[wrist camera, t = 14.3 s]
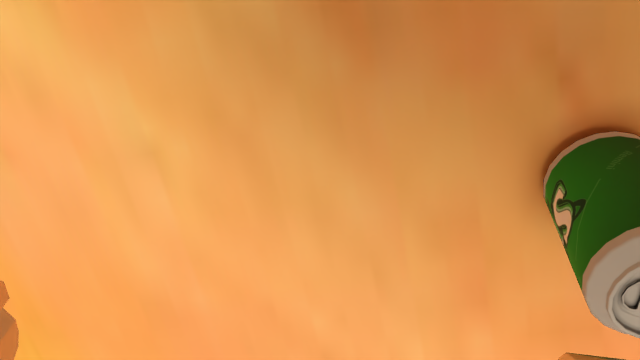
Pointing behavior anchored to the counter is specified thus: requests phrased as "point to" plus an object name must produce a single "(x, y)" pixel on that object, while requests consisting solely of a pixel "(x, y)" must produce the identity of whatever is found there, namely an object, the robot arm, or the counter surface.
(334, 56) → the counter surface
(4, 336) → the robot arm
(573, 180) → the soda can
